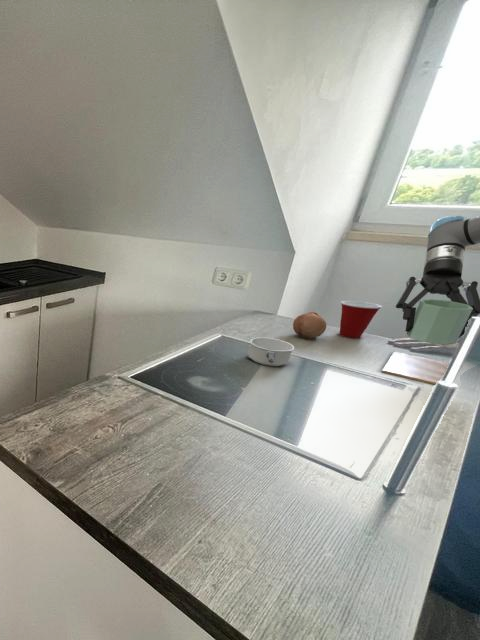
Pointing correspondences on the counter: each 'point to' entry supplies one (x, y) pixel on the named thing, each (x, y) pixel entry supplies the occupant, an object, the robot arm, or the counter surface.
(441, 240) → the robot arm
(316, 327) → the onion
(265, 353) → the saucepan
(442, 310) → the tumbler
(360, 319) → the plastic cup
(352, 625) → the counter surface
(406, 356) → the wooden cutting board
